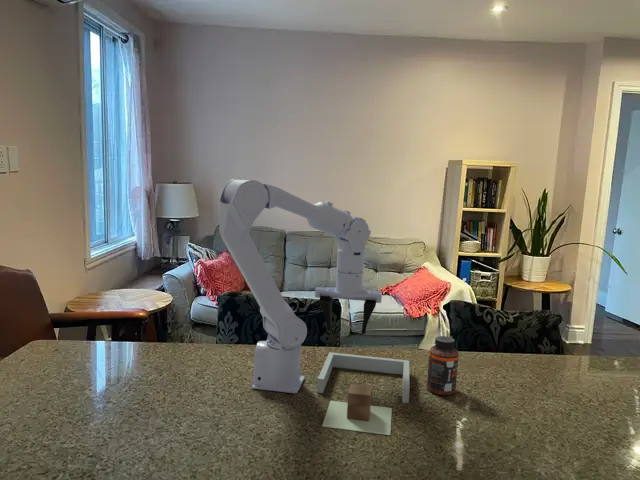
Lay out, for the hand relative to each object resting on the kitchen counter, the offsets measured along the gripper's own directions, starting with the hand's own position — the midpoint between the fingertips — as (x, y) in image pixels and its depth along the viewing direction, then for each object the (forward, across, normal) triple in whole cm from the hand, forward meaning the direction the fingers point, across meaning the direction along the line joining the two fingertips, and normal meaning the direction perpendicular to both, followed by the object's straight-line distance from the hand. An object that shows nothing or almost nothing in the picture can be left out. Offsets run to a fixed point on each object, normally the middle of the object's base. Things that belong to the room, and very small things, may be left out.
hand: (346, 331), depth 108 cm
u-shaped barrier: (+10, -5, +4) cm, 12 cm away
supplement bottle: (+10, -21, +3) cm, 23 cm away
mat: (+10, -5, +19) cm, 22 cm away
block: (+10, -5, +18) cm, 21 cm away
